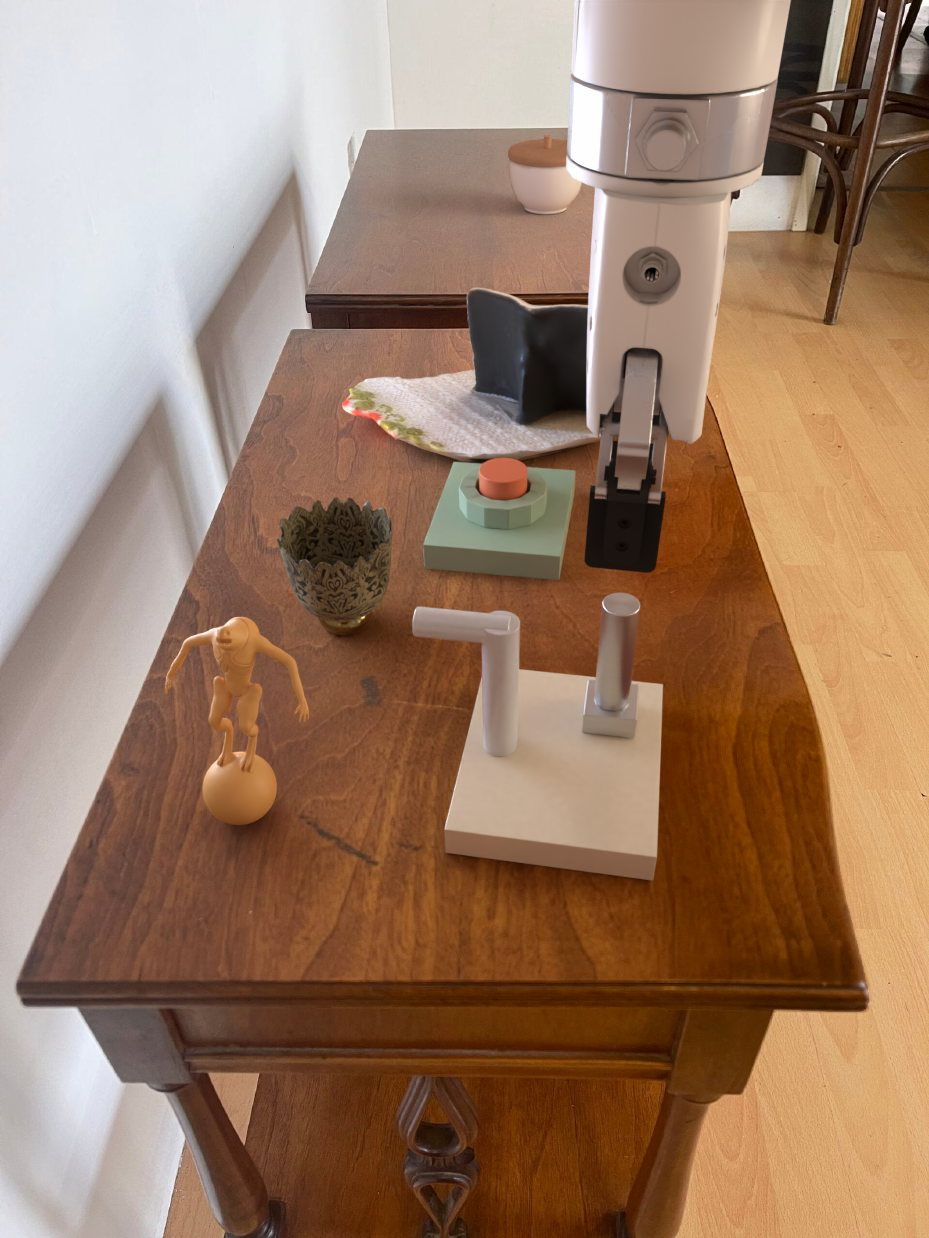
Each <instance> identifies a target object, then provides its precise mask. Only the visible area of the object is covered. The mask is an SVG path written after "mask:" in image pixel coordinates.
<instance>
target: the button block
mask: <svg viewBox="0 0 929 1238" xmlns="http://www.w3.org/2000/svg"><path fill="white" fill-rule="evenodd" d="M482 464H483V463H480V462H460V461H453V463H452V465H451V468H450V471H449V473H448V476H447V478H446V482H445V484H444V487H443V488H442V489H443V490H442V492H441V495H440V498H439V499H438V503H437V506H436V508H435V511H434V514H433V516H432V518H431V519H432V520H431V522H430V524H429V527H428V530H427V533H426V536H425V538H424V541H423V544H422V549H423V551H422V552H423V568H424V569H429V570H439V571H451V572H460V573H472V574H484V575H495V576H505V577H515V578H517V577H518V578H528V579H538V580H539V579H540V580H549V581H560V577H561V571H562V566H563V560H564V555H565V549H566V545H567V539H568V531H569V525H570V521H571V516H572V509H573V503H574V498H575V491H576V490H575V489H576V472H577V471H576V470H573V469H560V468H559V469H558V468H546V467H532V466H526V467H527V492H526V494H525V495H524V496H522V497H521V498H517V499H512V500H508V501H502V500H492V499H489V498H487V497H485V496H482V494H481V493H480V490H479V469H480V466H481V465H482Z"/></svg>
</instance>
